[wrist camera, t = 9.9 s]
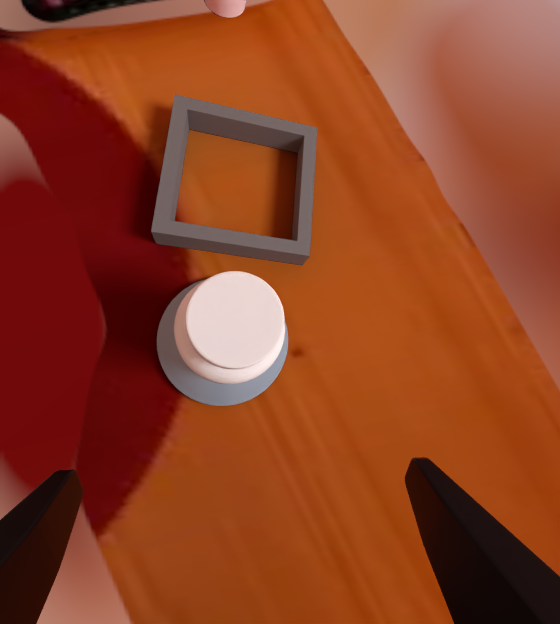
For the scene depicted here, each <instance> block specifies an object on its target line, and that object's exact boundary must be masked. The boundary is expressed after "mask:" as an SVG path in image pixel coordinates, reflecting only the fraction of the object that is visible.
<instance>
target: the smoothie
mask: <svg viewBox="0 0 560 624" xmlns="http://www.w3.org/2000/svg"><path fill="white" fill-rule="evenodd" d="M204 2H205V4H206V6H207V7H208V8H209V9H210V10H211V11H212V12H214V13H215V14H217V15H219V16H222V17H227V18H232V17H236V16H239V15H240V14H241V13H242V12H243V11H244V9H245V4H246V0H204Z"/></svg>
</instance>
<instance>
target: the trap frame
mask: <svg viewBox="0 0 560 624" xmlns="http://www.w3.org/2000/svg"><path fill="white" fill-rule="evenodd" d="M189 129H190V130H195V131H199V132H204V133H209V134H213V135H218V136H222V137H227V138H232V139H236V140H241V141H246V142H250V143H255V144H259V145H264V146H269V147H273V148H278V149H283V150H287V151H292V152H297V153H298V157H297V172H296V186H295V200H294V214H293V228H292V240H287V239H281V238H275V237H269V236H263V235H256V234H250V233H244V232H238V231H232V230H225V229H219V228H213V227H207V226H201V225H194V224H188V223H182V222H176V221H175V215H176V208H177V202H178V196H179V189H180V183H181V177H182V170H183V164H184V158H185V151H186V145H187V139H188V132H189ZM316 138H317V128H316V127H312V126H308V125H303V124H299V123H295V122H291V121H286V120H282V119H278V118H274V117H269V116H265V115H261V114H256V113H252V112H248V111H244V110H239V109H235V108H231V107H227V106H222V105H218V104H214V103H209V102H205V101H201V100H197V99H192V98H188V97H184V96H180V95H175V97H174V103H173V108H172V114H171V120H170V126H169V131H168V137H167V143H166V149H165V154H164V160H163V166H162V172H161V177H160V183H159V189H158V195H157V200H156V206H155V212H154V218H153V223H152V229H151V233H152V235H153V237H154V240H155V242H156V244H162V245H169V246H175V247H182V248H189V249H196V250H203V251H209V252H216V253H223V254H230V255H237V256H243V257H250V258H257V259H264V260H270V261H277V262H284V263H291V264H298V265H303V264H304V262H305V261H306V260H307V259H308V258H309V256H310V243H311V226H312V208H313V191H314V173H315V156H316Z"/></svg>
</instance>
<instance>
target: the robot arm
mask: <svg viewBox="0 0 560 624" xmlns="http://www.w3.org/2000/svg"><path fill="white" fill-rule="evenodd" d="M405 484H406V488H407V491H408V494H409V498H410V501H411V505H412V508H413V512H414V515H415V518H416V522H417V525H418V529H419V532H420V535H421V539H422V542H423V545H424V547H425V550H426V553H427V556H428V558H429V561H430V563H431V566H432V568H433V571H434V573H435V576H436V578H437V581H438V584H439V586H440V589H441V591H442V594H443V596H444V599H445V601H446V604H447V606H448V609H449V612H450V614H451V617H452V619H453V622H454V624H560V576H559V575H558V574H556V573H555V572H554V571H553V570H552V569H551V568H550V567H549V566H548V565H546V564H545V563H544V562H543V561H542V560H541V559H540V558H539V557H538V556H536V555H535V554H534V553H533V552H532V551H531V550H530V549H529V548H527V547H526V546H525V545H524V544H523V543H522V542H521V541H520V540H519V539H517V538H516V537H515V536H514V535H513V534H512V533H511V532H510V531H509V530H507V529H506V528H505V527H504V526H503V525H502V524H501V523H500V522H499V521H497V520H496V519H495V518H494V517H493V516H492V515H491V514H490V513H489V512H487V511H486V510H485V509H484V508H483V507H482V506H481V505H480V504H479V503H477V502H476V501H475V500H474V499H473V498H472V497H471V496H470V495H469V494H467V493H466V492H465V491H464V490H463V489H462V488H461V487H460V486H459V485H457V484H456V483H455V482H454V481H453V480H452V479H451V478H450V477H449V476H447V475H446V474H445V473H444V472H443V471H442V470H441V469H440V468H439V467H437V466H436V465H435V464H434V463H433V462H432V461H431V460H429V459H428V458H425V457H421V458H413V459H412V460H411V462H410V464H409V467H408V470H407V472H406V475H405ZM82 496H83V488H82V485H81V483H80V480H79V477H78V475H77V472H76V471H75V470H58V471H56V472H54V473H53V474H52V475H51V476H50V477H48V478H47V479H46V480H45V481H44V482H43V483H42V484H40V485H39V486H38V487H37V488H36V489H35V490H34V491H33V492H32V493H30V494H29V495H28V496H27V497H26V498H25V499H23V500H22V501H21V502H20V503H19V504H18V505H17V506H16V507H14V508H13V509H12V510H11V511H10V512H9V513H8V514H6V515H5V516H4V517H3V518H2V519H1V520H0V624H36V623H37V620H38V618H39V616H40V614H41V611H42V609H43V606H44V604H45V602H46V599H47V597H48V595H49V592H50V590H51V588H52V585H53V583H54V581H55V578H56V576H57V573H58V571H59V568H60V565H61V562H62V560H63V556H64V553H65V550H66V547H67V544H68V541H69V538H70V534H71V532H72V528H73V525H74V522H75V519H76V516H77V513H78V510H79V507H80V503H81V500H82Z"/></svg>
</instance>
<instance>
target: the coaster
mask: <svg viewBox="0 0 560 624" xmlns="http://www.w3.org/2000/svg"><path fill="white" fill-rule="evenodd" d="M205 280H207V279H205ZM205 280H201V281H199V282H196V283H194V284H192V285H190V286H189V287H187V288H185V289H184V290H183V291H181V292H180V293H179V294H178V295H177V296H176V297H175V298H174V299H173V300H172V301H171V303H170V304H169V305H168V307H167V308H166V310H165V312H164V314H163V316H162V318H161V321H160V324H159V328H158V333H157V351H158V357H159V360H160V363H161V366H162V368H163V370H164V372H165V374H166V376H167V377H168V379H169V380H170V381H171V383H172V384H173V385H174V386H175V387H176V388H177V389H178V390H180V391H181V392H182V393H183V394H185V395H186V396H188V397H190V398H191V399H194V400H196V401H198V402H201V403H205V404H208V405H215V406H228V405H235V404H239V403H243V402H245V401H248V400H250V399H252V398H254V397H256V396H257V395H259V394H260V393H262V392H263V391H264V390H266V389H267V388H268V387H269V386H270V385H271V384H272V382H273V381H274V380H275V379H276V377H277V376H278V374H279V372H280V371H281V369H282V366H283V364H284V362H285V358H286V355H287V348H288V333H287V327H286V323H285V320H284V323H285V336H284V342H283V345H282V348H281V351H280V353H279V355H278V357H277V358H276V360H275V361H274V363H273V364H272V365H271V366H270V367H269V368H268V369H267V370H266V371H265V372H263V373H262V374H261V375H259V376H257V377H256V378H254V379H251V380H249V381H246V382H242V383H237V384H220V383H215V382H212V381H209V380H206V379H204V378H202V377H201V376H199V375H197V374H196V373H195V372H193V371H192V370H191V369H190V368H189V367H188V366H187V364H186V363H185V362H184V360H183V359H182V357H181V355H180V353H179V350H178V348H177V345H176V341H175V335H174V322H175V317H176V313H177V310H178V308H179V306H180V304H181V302H182V300H183V299H184V297H185V296H186V295H187V294H188V292H189V291H190V290H191V289H193V288H194V287H195V286H196V285H198V284H199V283H201V282H203V281H205Z"/></svg>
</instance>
